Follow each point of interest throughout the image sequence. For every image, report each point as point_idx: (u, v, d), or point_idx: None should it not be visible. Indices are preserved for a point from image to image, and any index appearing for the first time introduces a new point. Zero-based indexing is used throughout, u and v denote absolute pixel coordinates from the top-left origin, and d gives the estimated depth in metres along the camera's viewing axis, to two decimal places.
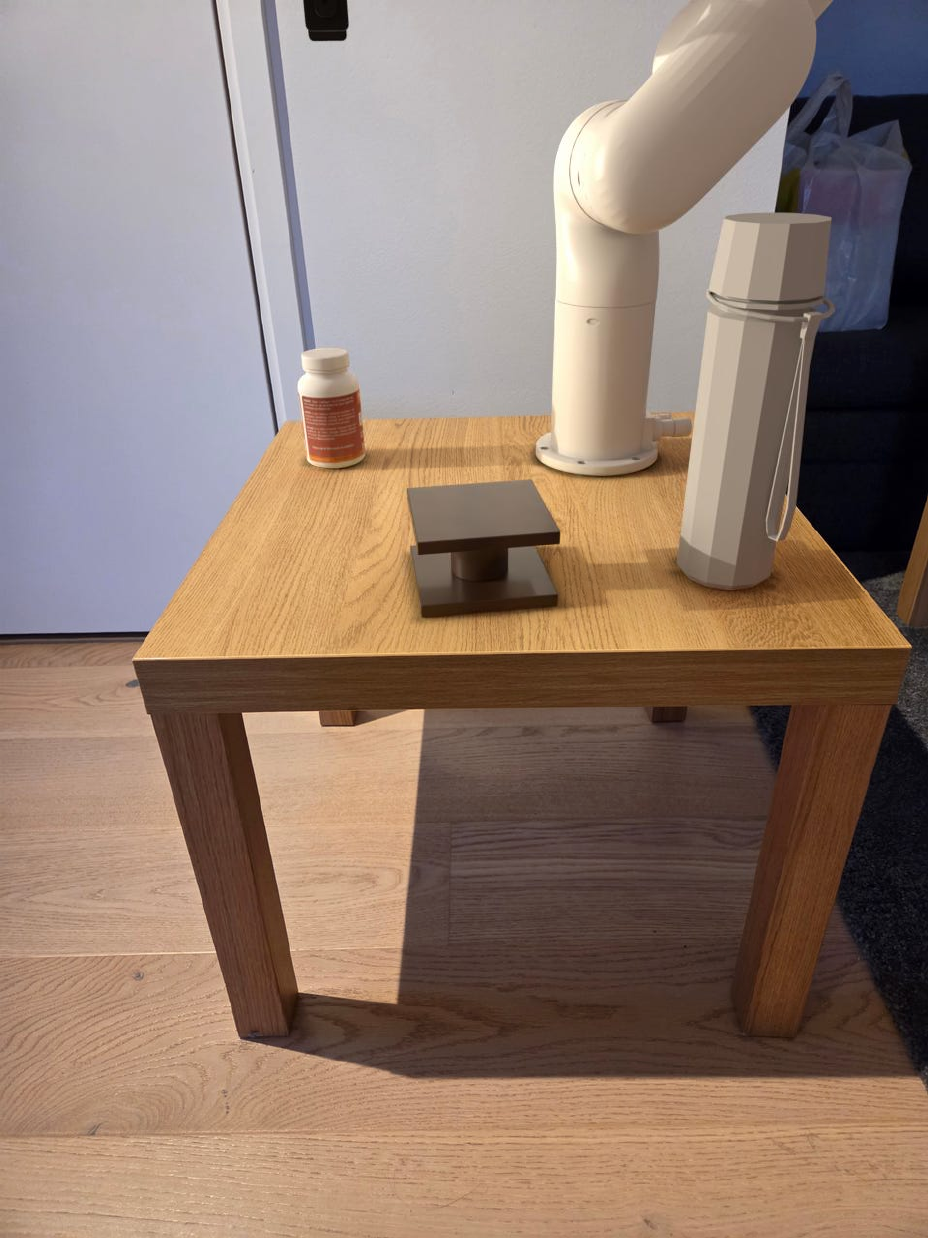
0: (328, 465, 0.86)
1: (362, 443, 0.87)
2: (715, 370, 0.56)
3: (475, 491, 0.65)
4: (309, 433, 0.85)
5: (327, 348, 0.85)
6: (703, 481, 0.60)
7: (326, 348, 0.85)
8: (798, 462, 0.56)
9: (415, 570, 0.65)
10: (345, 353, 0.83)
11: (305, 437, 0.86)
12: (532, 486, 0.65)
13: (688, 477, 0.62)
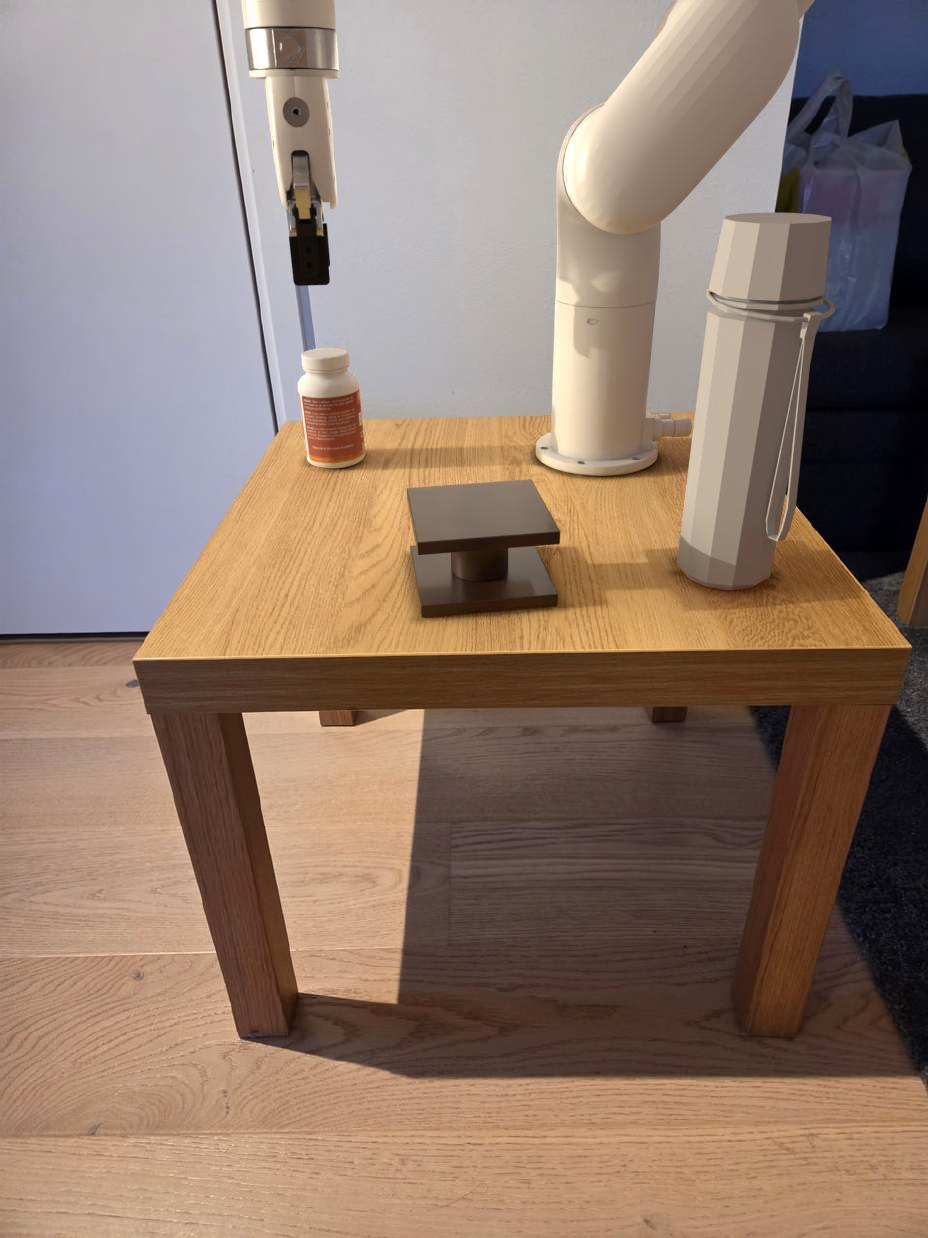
0: (328, 465, 0.86)
1: (362, 443, 0.87)
2: (715, 370, 0.56)
3: (475, 491, 0.65)
4: (309, 433, 0.85)
5: (327, 348, 0.85)
6: (703, 481, 0.60)
7: (326, 348, 0.85)
8: (798, 462, 0.56)
9: (415, 570, 0.65)
10: (345, 353, 0.83)
11: (305, 437, 0.86)
12: (532, 486, 0.65)
13: (688, 477, 0.62)
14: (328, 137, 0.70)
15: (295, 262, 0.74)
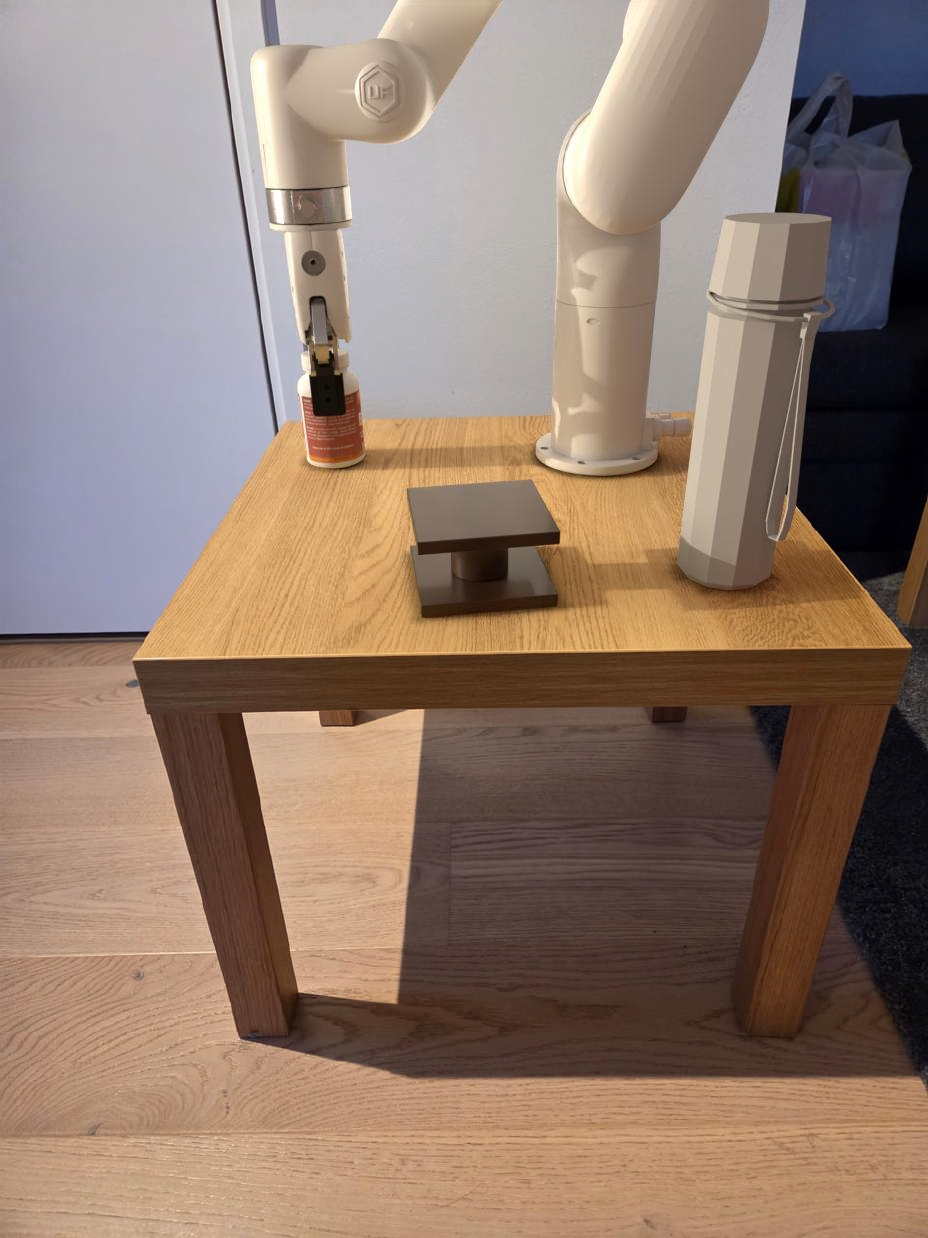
0: (328, 465, 0.86)
1: (362, 443, 0.87)
2: (715, 370, 0.56)
3: (475, 491, 0.65)
4: (309, 433, 0.85)
5: None
6: (703, 481, 0.60)
7: None
8: (798, 462, 0.56)
9: (415, 570, 0.65)
10: (345, 353, 0.83)
11: (305, 437, 0.86)
12: (532, 486, 0.65)
13: (688, 477, 0.62)
14: (343, 283, 0.76)
15: (315, 397, 0.81)
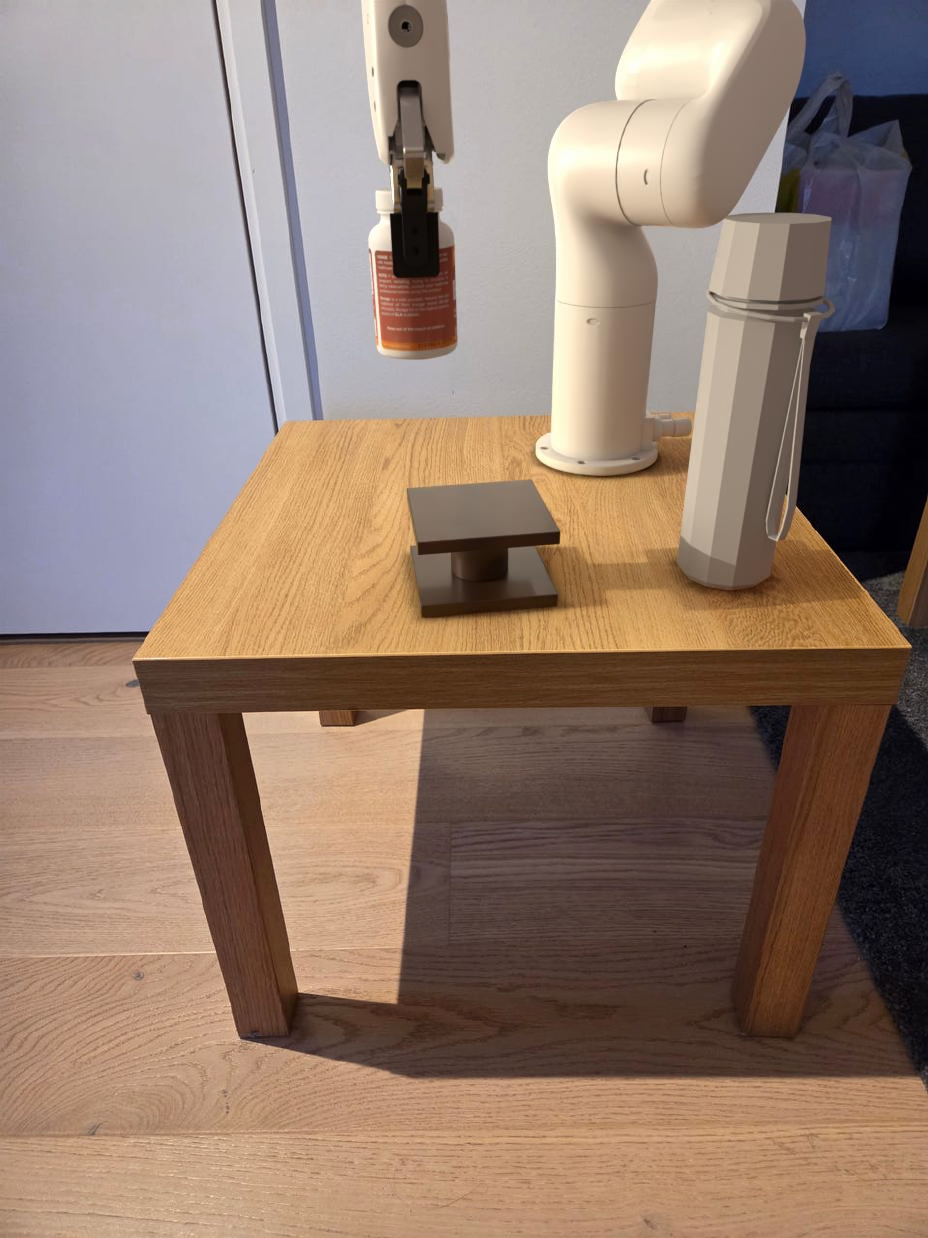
0: (408, 354, 0.61)
1: (455, 326, 0.62)
2: (715, 370, 0.56)
3: (475, 491, 0.65)
4: (383, 307, 0.60)
5: None
6: (703, 481, 0.60)
7: None
8: (798, 462, 0.56)
9: (415, 570, 0.65)
10: (438, 188, 0.58)
11: (377, 315, 0.61)
12: (532, 486, 0.65)
13: (688, 477, 0.62)
14: (448, 62, 0.51)
15: (396, 247, 0.57)
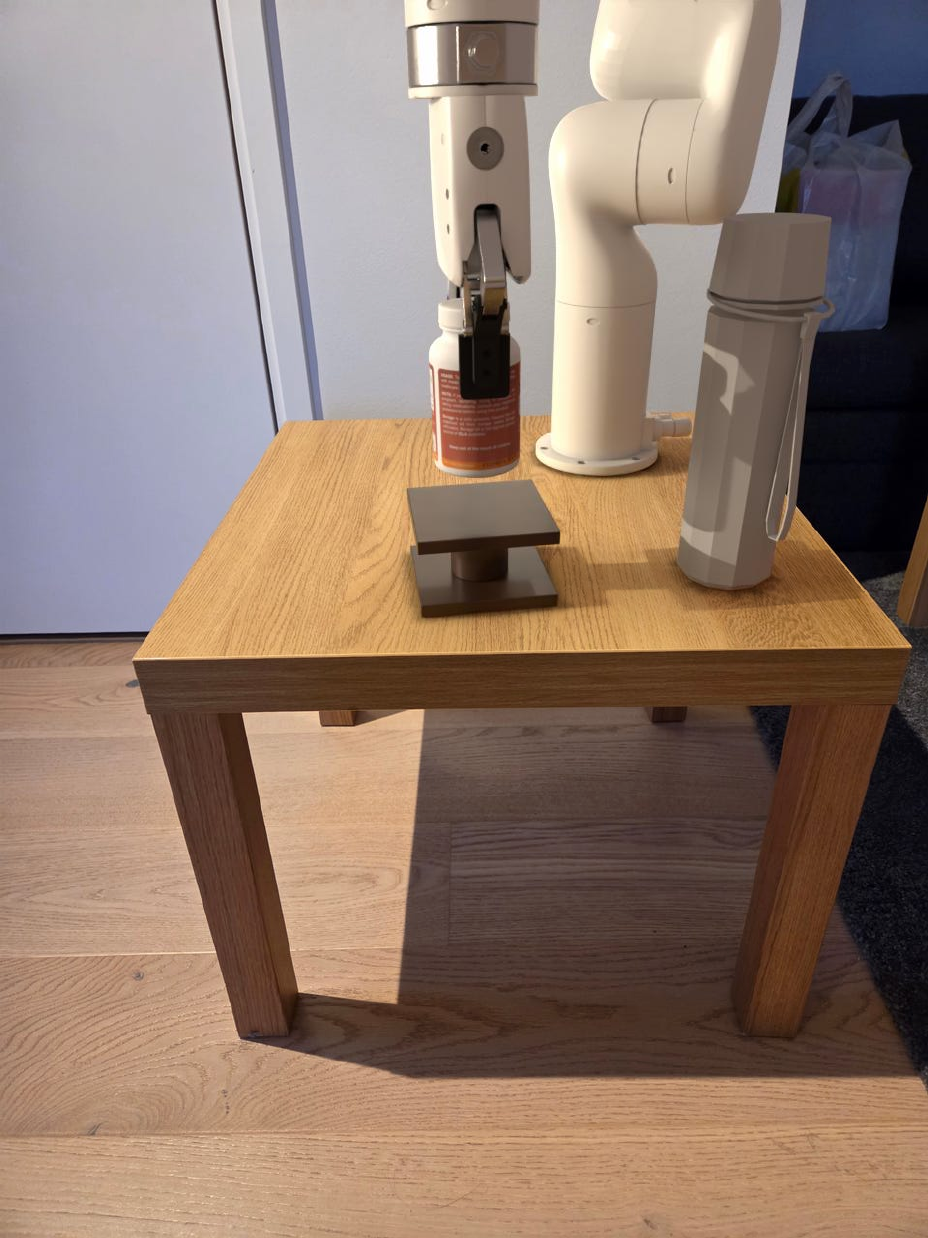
0: (472, 473, 0.58)
1: (519, 441, 0.59)
2: (715, 370, 0.56)
3: (475, 491, 0.65)
4: (446, 426, 0.57)
5: (473, 297, 0.56)
6: (703, 481, 0.60)
7: (472, 297, 0.56)
8: (798, 462, 0.56)
9: (415, 570, 0.65)
10: None
11: (437, 432, 0.58)
12: (532, 486, 0.65)
13: (688, 477, 0.62)
14: (528, 184, 0.47)
15: (465, 369, 0.53)
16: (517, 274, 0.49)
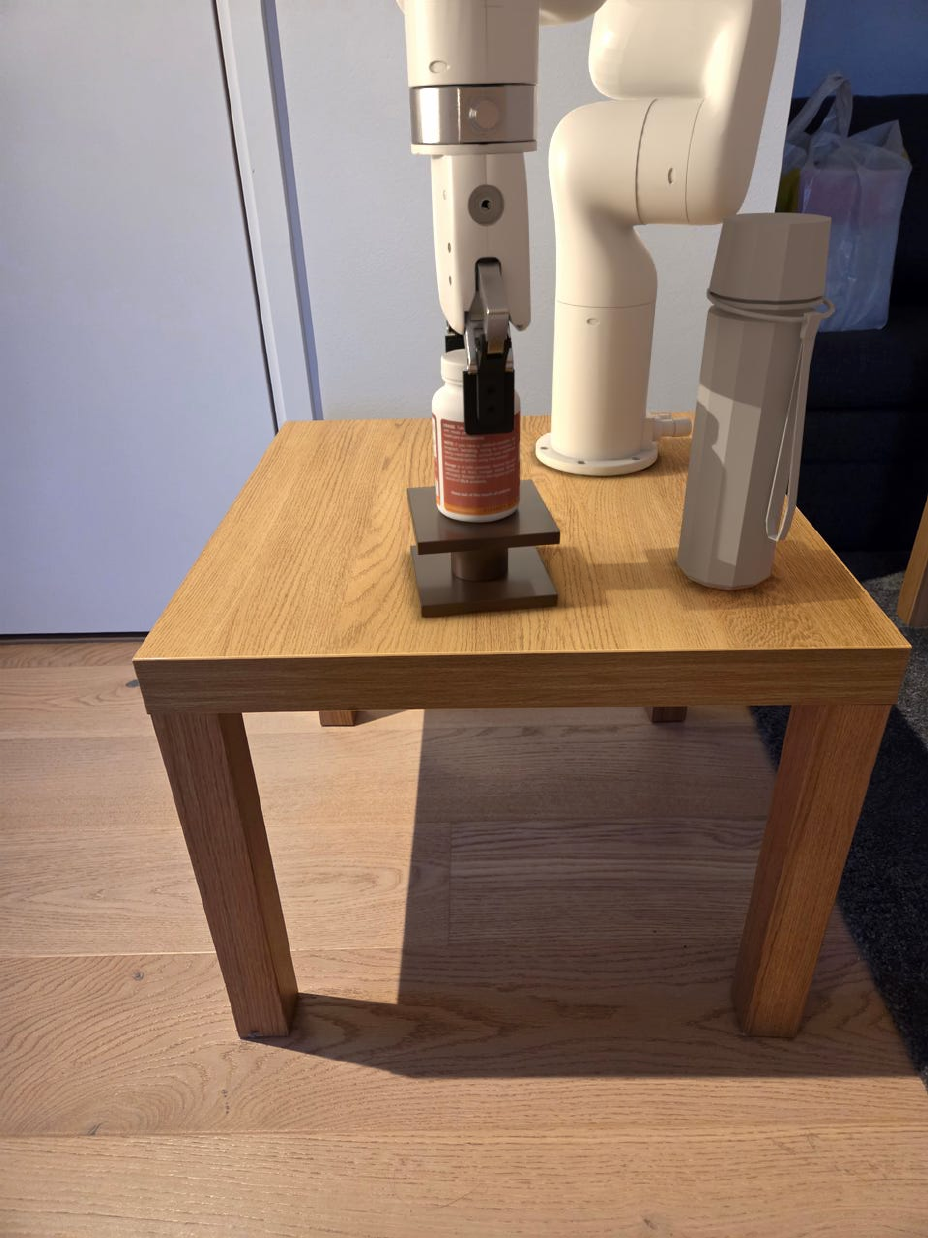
0: (473, 518, 0.59)
1: (519, 486, 0.61)
2: (715, 370, 0.56)
3: None
4: (448, 473, 0.58)
5: None
6: (703, 481, 0.60)
7: None
8: (798, 462, 0.56)
9: (415, 570, 0.65)
10: None
11: (440, 478, 0.59)
12: (532, 486, 0.65)
13: (688, 477, 0.62)
14: (528, 237, 0.49)
15: (469, 405, 0.53)
16: (517, 323, 0.51)
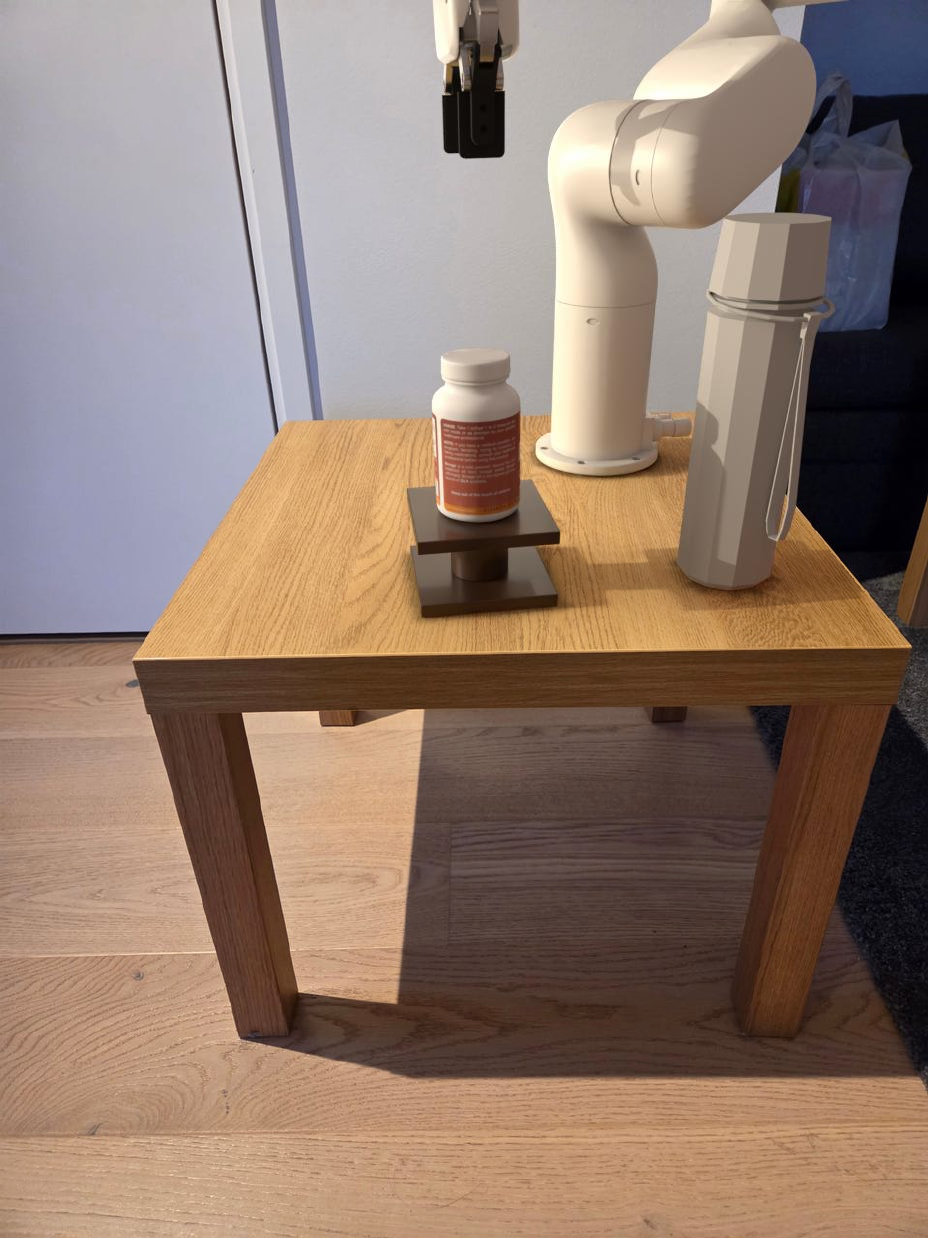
0: (473, 518, 0.59)
1: (519, 486, 0.61)
2: (715, 370, 0.56)
3: None
4: (448, 473, 0.58)
5: (475, 349, 0.58)
6: (703, 481, 0.60)
7: (473, 349, 0.58)
8: (798, 462, 0.56)
9: (415, 570, 0.65)
10: (507, 356, 0.56)
11: (440, 478, 0.59)
12: (532, 486, 0.65)
13: (688, 477, 0.62)
14: None
15: (464, 126, 0.58)
16: (507, 42, 0.56)
